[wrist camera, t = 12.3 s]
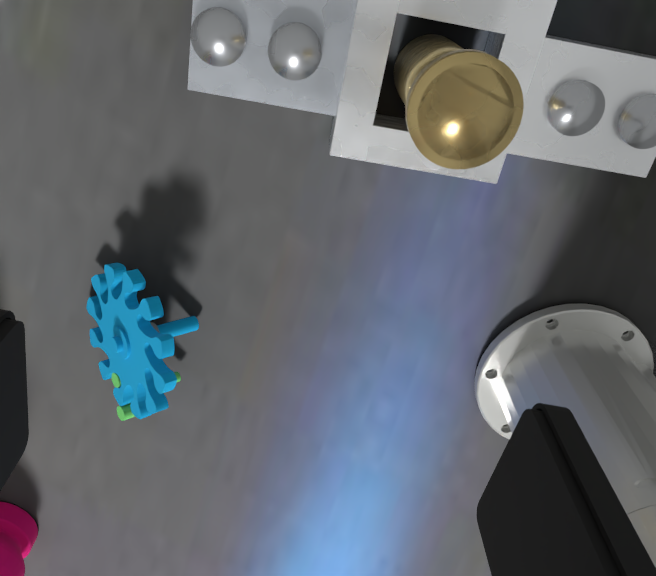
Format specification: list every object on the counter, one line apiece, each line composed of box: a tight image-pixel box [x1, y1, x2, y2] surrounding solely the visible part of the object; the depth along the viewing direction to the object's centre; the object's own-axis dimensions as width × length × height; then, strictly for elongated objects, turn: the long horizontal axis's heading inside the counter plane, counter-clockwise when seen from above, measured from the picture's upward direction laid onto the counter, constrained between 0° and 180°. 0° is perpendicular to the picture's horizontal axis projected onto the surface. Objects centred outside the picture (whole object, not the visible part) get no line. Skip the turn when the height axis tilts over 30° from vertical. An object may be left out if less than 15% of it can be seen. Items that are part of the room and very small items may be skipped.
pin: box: [394, 34, 524, 169], centre depth 29 cm, size 5×5×10 cm
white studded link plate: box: [188, 0, 656, 184], centre depth 32 cm, size 26×10×4 cm, turn 80°
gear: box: [87, 263, 199, 421], centre depth 39 cm, size 11×6×10 cm
